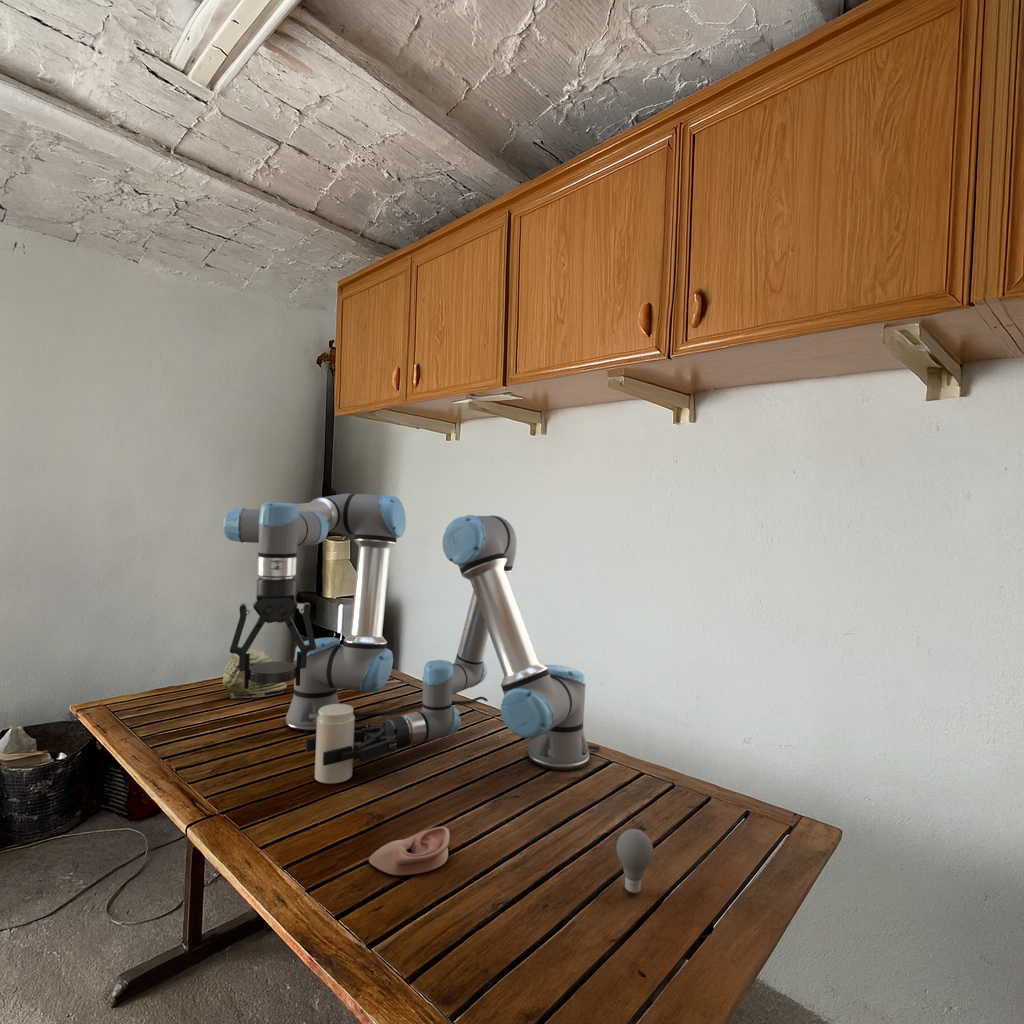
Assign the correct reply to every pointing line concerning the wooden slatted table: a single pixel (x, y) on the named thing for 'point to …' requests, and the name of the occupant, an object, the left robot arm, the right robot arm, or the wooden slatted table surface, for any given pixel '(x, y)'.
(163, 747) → the wooden slatted table surface
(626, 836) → the light bulb
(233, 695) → the fossil
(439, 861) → the anatomical model
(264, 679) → the lid
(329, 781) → the jar
